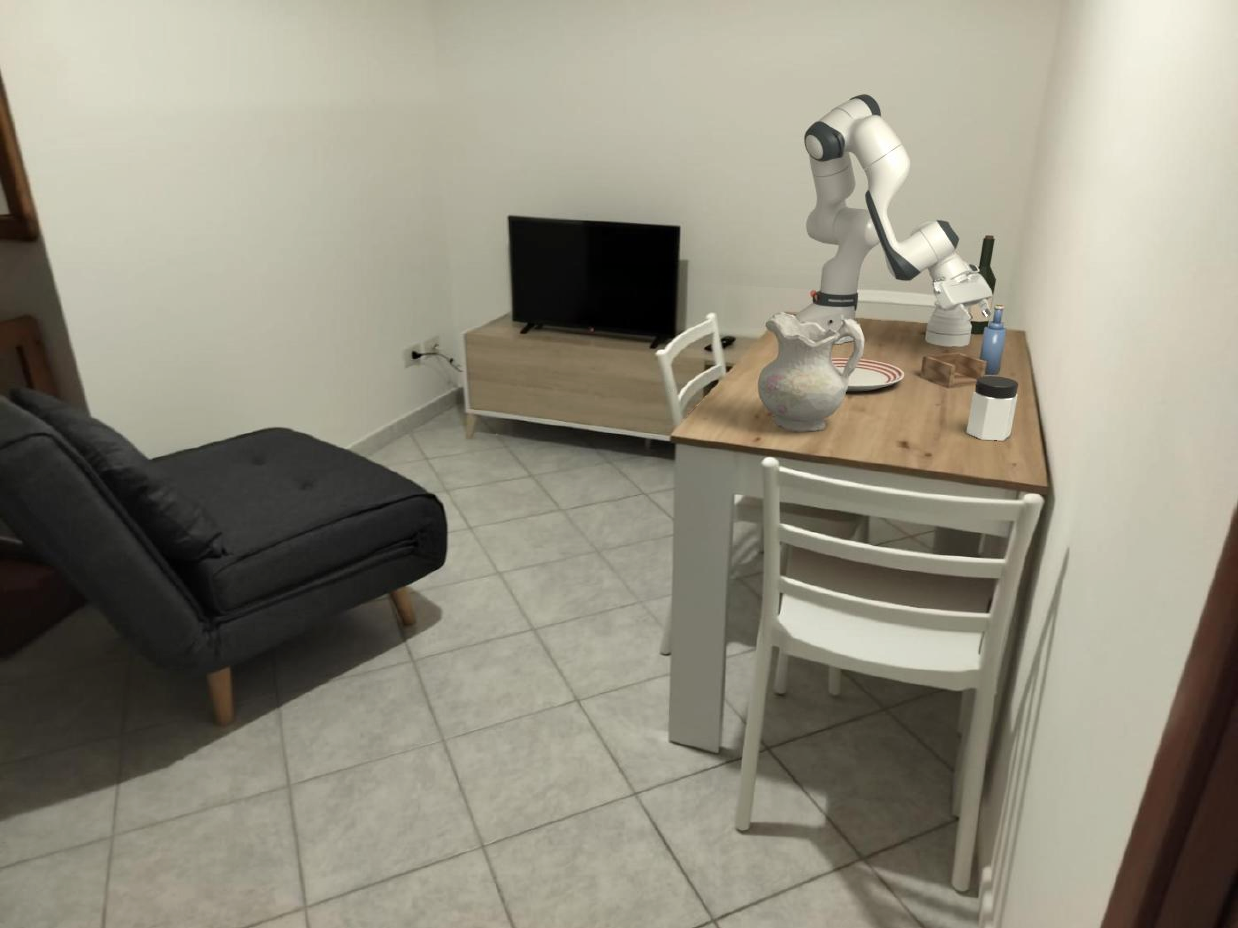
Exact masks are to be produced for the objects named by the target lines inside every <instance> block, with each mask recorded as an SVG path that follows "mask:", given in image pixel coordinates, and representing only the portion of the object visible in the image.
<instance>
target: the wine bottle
mask: <svg viewBox="0 0 1238 928" xmlns="http://www.w3.org/2000/svg"><path fill="white" fill-rule="evenodd" d="M995 240H996V239H995V238H994V235H991V234H990V235H989V234H988V235H985V237H984V238H983V239H982V245H981V253H980V258H979V265H978V266H977V267H978V268H979V270H980V271H979V272H978V274H980V275H982V277H983V278H984V279H985V281H986V282H987V284H988V285H989V287H990V289H991V291H992V297H991V298H990V299H988V300H987V301H988V304H989V309H990V310H991V311H992V306H993V305H992V304H993V300H994V293H995V287H996V283H997V279H996V276H995V273H994V271H993V270H992V267H991V266H992V265H991V263H992V258H993V251H994V246H995ZM968 312H969V313H971V315H972V316H973V319H971V320H970V323H971V325H972V329H971V335H978V336H979V335H983V334H984V328H985V327H986V326H989V322H990V319H991V315H990V316H988V317H984V316H983V315H982V313H981V312H982V309H981V307H979V306H978V304H976V305H972V306H969V307H968Z"/></svg>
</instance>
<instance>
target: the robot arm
mask: <svg viewBox="0 0 1238 928" xmlns="http://www.w3.org/2000/svg"><path fill="white" fill-rule="evenodd" d="M803 138H804V139H803V142H804V146H805V150H806V152H807V154H808V156H809V157H808V158H809V164H810V165H809V166H810V169H811V173H812V178H813V183H814V187H815V193H816V204H815V206H814V208H813V209H812V210H811V212H810V213H809V215H808V216H807V219H806V224H805V228H806V229H805V230H806V232H807V235H808V237H810V238H811V239H812V240H814V241H816V242H820V243H822V244H826V245H835V246H838V248H837V251H836V254H835V256H834V257H832V258H830V259H829V260H827V261H826V262H825V263H824V264H823V266H822V268H821V276H820V286H819V287H820V288H819V290H818V291H817V290H814V289H813V290H811V291H810V293H809V294H810V297H811V298H812V303H810V304H809V305H807V306H806V307H805V308H803V309H801V310H800V311H798V312H796V314H795V315H794V316H796V319H797V320H798V322H800V323H802V322H816V323H818V324H819V325H820V326H821V327H822V328H823V329H825V331H832V330H834V331H836V332H837V331H838V330H839V329H840V327H841V326H842V324H843V321H842V320H844V319H852V318H853V319H855V320H856V311H857V308H858V303H859V293H858V285H859V279H860V272H861V267H862V265H863V262H864V260H865V259H866V256H867V255H868V254H869V253H870V251H871V250H872V249H874V248H875V247H877V245H879V244H880V245H881V248H882V251H883V252H884V253H883V254H884V259H885V262H886V266H887V269H888V271H889V273H890V274H891V276H892V277H893V278H895V280H899V281H903V282H906V281H907V282H908V281H909V282H910V281H912V280H914V278H916V277H917V276H919V275H920V274H922V272H924V271H926V270H928V273H929V276H930V277H931V279H932V283H931V286H932V288H933V289H932V291H933V294H934V296H935V298H936V301H938V302H939V304H940V306H941V307H942V309H944V310H945V311H949V310H954V311H955V312H956V313H957V314H958V315H960V316H961V317H962V318H963V319H964V321H965V322H968V321H970V320H971V319H973V316H972V315H971V313H968V312H967V311H966V310H965V309H964V307H967V306H972V305H976V304H978V306H979V307H981V309H982V312H981V313H982V315H983V316H984V317H988V316H990V317H991V315H992V313H993V312H992V309H991V310H990V309H989V304H988V301H987V300H988V299H990V298H991V297H992V291H991V289H990V287H989V285H988V284H987V282H986V281H985V279H984V278H983V277H982V275H980V274H978V272H979V271H980V270H979V268H978V267H979V266H977V265H976V264H972V263H969V262H967V261H964V260H963V258H962V257H961V255H960V254H958V253H956V251H955V250H956V249H957V248H958V245H959V241H960V237H959V236H958V235H957V233H956V232H955V231H954V230H953V228H952V226H951V225H950V222H949V221H945V220H941V219H936V220H934V221H932V220H929V221H924V222H922V223H920V224H919V225H917V226H915V228H914V229H913V230H912V231H911V232H910V235H909V237H907V238H905V239H904V240H902V241H898V240H897V238H896V235H895V232H894V229H893V226H892V225H891V221H890V219H889V216H888V208H889V205H890V204H891V202H892V200H893V199H894V197H895V196H896V194H898V192H899V191H900V189H901V188H902V187H903V185H904V184H905V183H906V182H907V179H908V178H909V175H910V172H911V167H912V163H911V158H910V156H909V153H908V152H907V149H906V148H905V146H904V144H903V142H902V141H901V140H900V137H898V135H897V134H896V132H895V131H894V129H893V128H892V126H890V124H889V123H888V122H887V121H886V120H885V119H884V117H882V111H881V107H880V105H879V104H878V102H877V100H875V98H874V97H872V96H870V95H869V94H865V93H864V94H863V93H862V94H858V95H855V96H853V97H850V99H849V100H847V101H845V102H842V103H841V104H839V105H837V106H835V107H834V108H832V109H831V110H830V111H829V112H828V113H826V114H825V115H824V116H822V117H821V118H820V119H818V120H817V121H815V122H814V123H812V124H811V125H810V126H809V127H808V129H807V130H806V131H805V133H804V137H803ZM850 153H852V154H854V156H855V157H856V158H857V160H858V162H859V165H860V166H861V168H862V169H863V172H864V173H865V175H866V178H867V179H866V180H867V183H868V184H867V186H868V187H867V190H866V192H865V193H864V194H865V195H864V196H865V204H866V207H867V209H863V208H855V207H848V206H847V204H846V200H847V199H848V198H849V197H850V196H851V195H852V194H853V192H854V191H855V189H856V178H855V175H854V168H853V164H852V160H851V155H850ZM852 341H853V342H854V339H853V338H852V337H850V336H847V337H843V338H841V339H840V340H839V341H837V342H835V343H834V344H836V345H840V344H841V345H842V344H844V343H847V342H848V343H849V342H852ZM834 344H833V345H834Z"/></svg>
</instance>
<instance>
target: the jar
mask: <svg viewBox="0 0 1238 928" xmlns="http://www.w3.org/2000/svg"><path fill="white" fill-rule="evenodd" d="M1018 388H1019V383H1018V382H1017V380H1015V379H1011V378H1009V377H1004V376H1003V377H1002V376H997V375H984V377H980V378H978V379H977V382H976V384H975V390H974V391H973V392H972V396H971V397H972V398H971V403H970V409H969V415H968V421H967V426H966V433H967V435H970V436H972V437H974V436H975V438H976V437H977V439H979V440H981V441H994V440H997V441H996V442H1002V441H1003V442H1004V441H1005V440H1006V439H1008V438H1009V437H1010V436H1011V432H1012V428H1013V423H1014V422H1013V421H1014V417H1015V412H1016V407H1017V400H1018Z"/></svg>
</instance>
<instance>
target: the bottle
mask: <svg viewBox="0 0 1238 928" xmlns="http://www.w3.org/2000/svg"><path fill="white" fill-rule="evenodd" d="M993 307H994V308H993V310H994V311H993V317H992V318H993V319H992V321H989V324H988V326H986V327H985V328H984V334H982V335H983V336H982V341H981V346H980V352H979V358H978V359H980V360H983V361H987V363H986V369H985V376H997V375H999V373H1000V368H1001V363H1002V358H1003V351H1004V345H1005V341H1006V335H1007V328H1006V327H1004V326H1005V325H1004V324H1005V323H1004V322H1003V321H1002V317H1003V312H1004V310H1005V305H1002V304H995V305H994V306H993Z"/></svg>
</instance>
